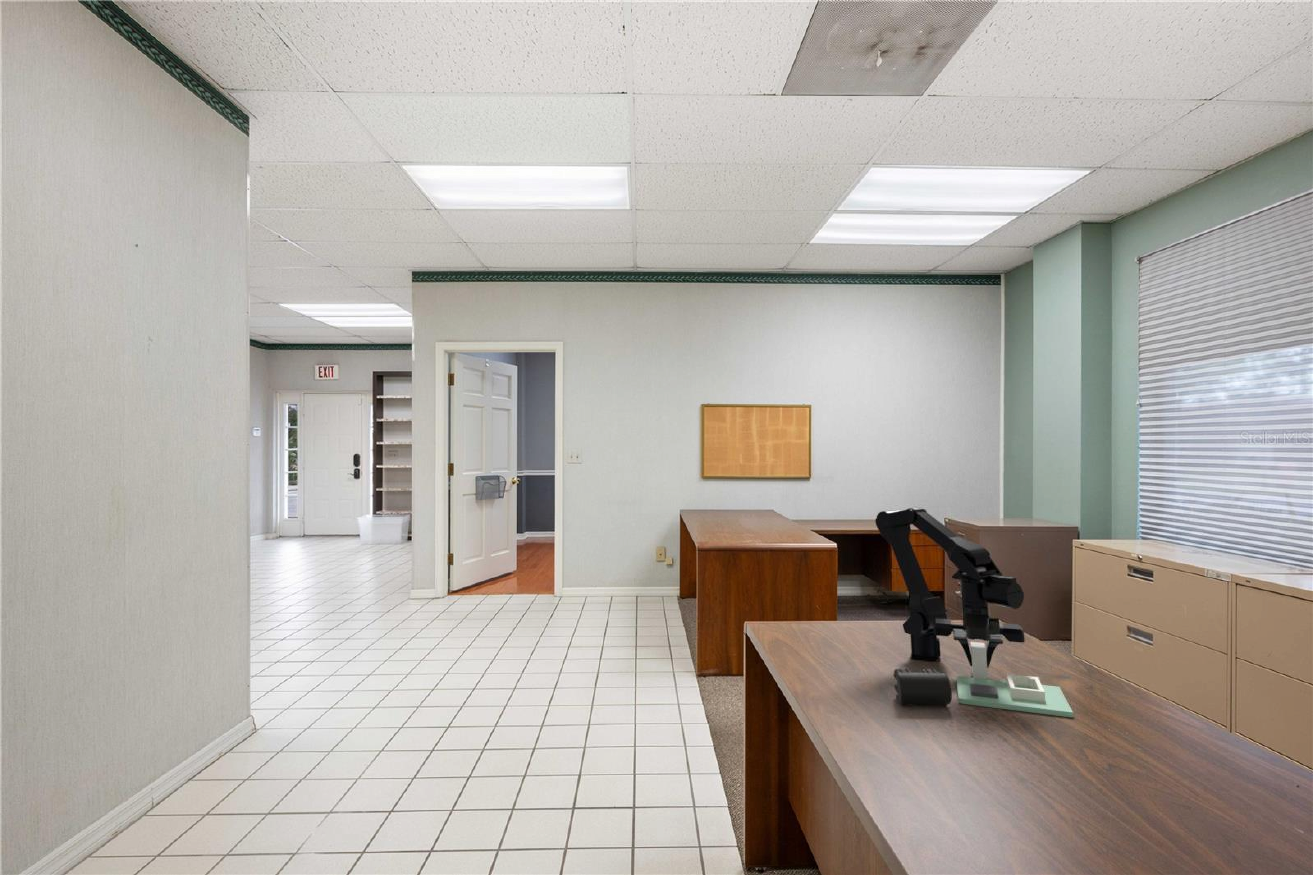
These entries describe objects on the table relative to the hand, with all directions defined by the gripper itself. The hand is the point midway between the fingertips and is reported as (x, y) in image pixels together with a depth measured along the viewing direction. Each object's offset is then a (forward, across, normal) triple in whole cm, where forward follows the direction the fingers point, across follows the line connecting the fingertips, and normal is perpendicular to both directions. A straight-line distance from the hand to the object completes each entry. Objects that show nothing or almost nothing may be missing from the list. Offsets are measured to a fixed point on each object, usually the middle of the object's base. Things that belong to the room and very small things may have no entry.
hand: (979, 666), depth 137 cm
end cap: (+2, -12, -22) cm, 25 cm away
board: (+2, +5, -12) cm, 13 cm away
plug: (+2, 0, 0) cm, 2 cm away
